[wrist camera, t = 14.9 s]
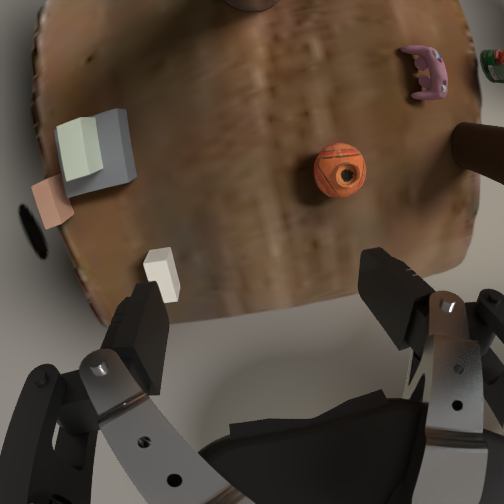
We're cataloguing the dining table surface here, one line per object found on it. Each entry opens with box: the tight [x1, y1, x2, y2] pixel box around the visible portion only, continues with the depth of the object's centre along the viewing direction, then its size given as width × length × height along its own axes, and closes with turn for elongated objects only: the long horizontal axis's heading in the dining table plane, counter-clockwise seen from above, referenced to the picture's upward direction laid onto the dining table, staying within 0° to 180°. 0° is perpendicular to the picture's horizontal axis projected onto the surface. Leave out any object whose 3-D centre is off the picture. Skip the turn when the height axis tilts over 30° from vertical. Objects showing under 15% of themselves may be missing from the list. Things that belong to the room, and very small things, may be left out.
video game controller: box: [400, 45, 448, 100], centre depth 31 cm, size 10×5×7 cm, turn 14°
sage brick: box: [57, 117, 103, 182], centre depth 28 cm, size 7×4×4 cm, turn 6°
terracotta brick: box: [31, 173, 74, 230], centre depth 33 cm, size 7×4×4 cm, turn 11°
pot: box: [314, 143, 366, 198], centre depth 37 cm, size 8×8×7 cm
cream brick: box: [143, 247, 180, 303], centre depth 41 cm, size 7×4×4 cm, turn 6°
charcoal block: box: [54, 108, 137, 198], centre depth 32 cm, size 10×10×4 cm
